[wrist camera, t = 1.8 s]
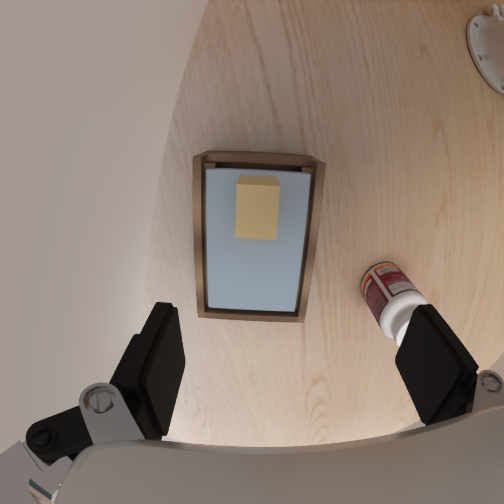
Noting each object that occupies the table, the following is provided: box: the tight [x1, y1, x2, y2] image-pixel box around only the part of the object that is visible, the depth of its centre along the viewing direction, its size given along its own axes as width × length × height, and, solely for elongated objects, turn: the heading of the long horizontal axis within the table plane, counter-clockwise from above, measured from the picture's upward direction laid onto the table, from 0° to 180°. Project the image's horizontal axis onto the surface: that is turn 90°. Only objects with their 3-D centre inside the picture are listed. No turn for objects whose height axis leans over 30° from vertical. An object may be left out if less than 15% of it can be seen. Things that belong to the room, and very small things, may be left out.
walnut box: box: [193, 151, 325, 323], centre depth 29 cm, size 16×11×7 cm
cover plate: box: [206, 168, 311, 312], centre depth 25 cm, size 14×9×5 cm, turn 177°
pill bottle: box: [361, 263, 427, 347], centre depth 30 cm, size 6×6×11 cm
